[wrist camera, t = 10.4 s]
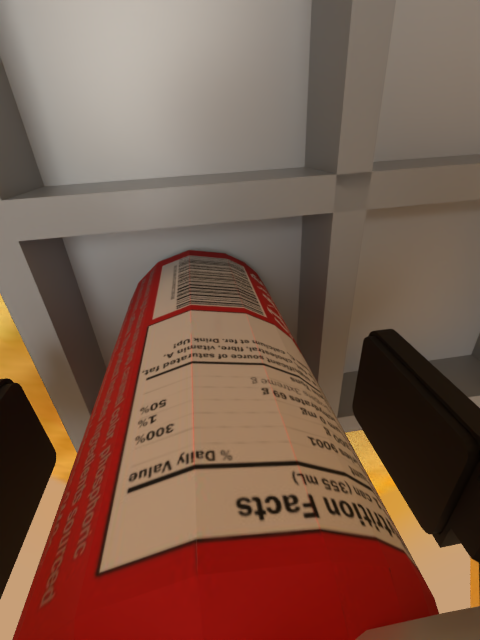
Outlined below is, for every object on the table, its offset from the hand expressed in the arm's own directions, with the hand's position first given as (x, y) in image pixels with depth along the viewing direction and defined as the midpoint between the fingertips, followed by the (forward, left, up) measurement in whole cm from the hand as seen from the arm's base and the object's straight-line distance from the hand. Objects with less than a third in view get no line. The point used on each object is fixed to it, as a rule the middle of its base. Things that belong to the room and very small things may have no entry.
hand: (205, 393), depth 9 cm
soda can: (0, 0, -5) cm, 5 cm away
